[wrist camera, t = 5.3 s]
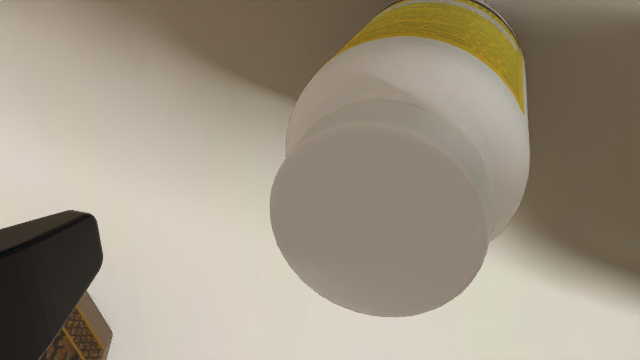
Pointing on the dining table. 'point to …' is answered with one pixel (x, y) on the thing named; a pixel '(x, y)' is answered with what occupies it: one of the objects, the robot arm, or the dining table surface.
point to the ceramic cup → (81, 335)
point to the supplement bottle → (405, 158)
